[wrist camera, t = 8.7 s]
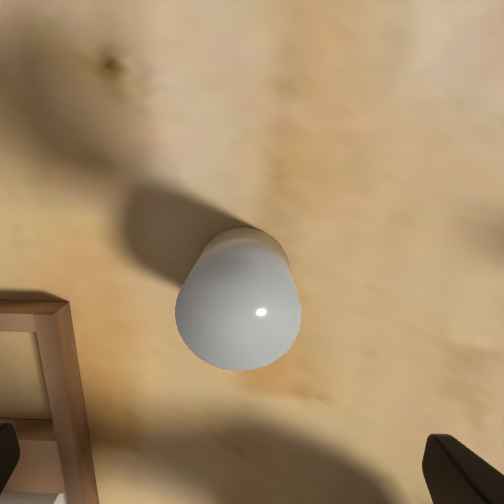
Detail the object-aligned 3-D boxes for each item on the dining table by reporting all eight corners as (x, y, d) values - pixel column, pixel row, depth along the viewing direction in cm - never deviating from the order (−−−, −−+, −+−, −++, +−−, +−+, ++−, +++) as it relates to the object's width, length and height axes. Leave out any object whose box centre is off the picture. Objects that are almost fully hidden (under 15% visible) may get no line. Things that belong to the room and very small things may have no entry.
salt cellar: (292, 228, 17) (305, 258, 12) (287, 314, 18) (297, 372, 13) (197, 225, 17) (172, 254, 12) (199, 311, 18) (177, 369, 13)
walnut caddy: (69, 302, 18) (52, 315, 16) (107, 557, 24) (97, 583, 22) (-94, 297, 18) (-125, 309, 17) (-17, 552, 24) (-35, 578, 22)
